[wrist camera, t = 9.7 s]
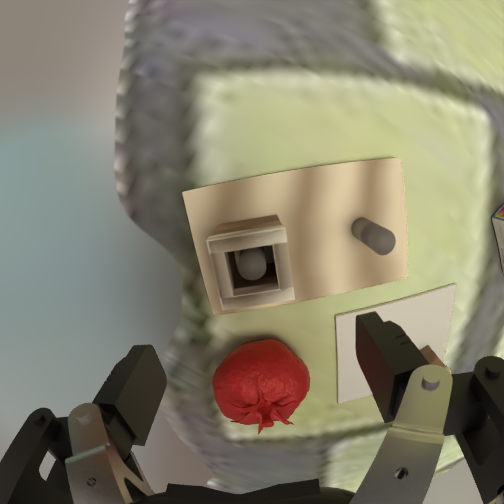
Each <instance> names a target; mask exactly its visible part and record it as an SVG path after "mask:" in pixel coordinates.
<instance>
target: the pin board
mask: <svg viewBox="0 0 504 504" xmlns="http://www.w3.org/2000/svg"><path fill="white" fill-rule="evenodd" d="M182 193H183V198H184V202H185V207H186V211H187V215H188V220H189V224H190V228H191V232H192V236H193V241H194V245H195V249H196V253H197V257H198V261H199V264H200V268H201V272H202V276H203V280H204V283H205V287H206V291H207V294H208V298H209V302H210V305H211V309H212V312H213V316H215V315H222V314H229V313H235V312H242V311H248V310H254V309H261V308H267V307H272V306H278V305H284V304H289V303H295V302H300V301H305V300H311V299H316V298H321V297H326V296H331V295H335V294H340V293H345V292H349V291H354V290H358V289H363V288H367V287H372V286H376V285H380V284H384V283H389V282H393V281H397V280H401V279H405V278H408V230H407V212H406V198H405V188H404V178H403V170H402V163H401V158H386V159H375V160H365V161H355V162H347V163H338V164H331V165H323V166H316V167H309V168H302V169H296V170H289V171H283V172H277V173H271V174H266V175H260V176H255V177H249V178H244V179H239V180H234V181H229V182H224V183H219V184H215V185H210V186H205V187H201V188H197V189H192V190H188V191H184V192H182ZM276 214H277V216H278V218H279V220H280V222H281V224H284V226H285V229H286V236H287V243H288V250H289V257H290V264H291V272H292V279H293V287H294V295H295V300H289V301H282V302H276V303H270V304H263V305H257V306H250V307H243V308H236V309H229V310H222V306H221V302H220V298H219V294H218V290H217V286H216V281H215V277H214V273H213V269H212V264H211V260H210V255H209V251H208V246H207V242H206V240H207V239H208V237H209V236H212V235H213V233H214V231H215V230H216V228H217V227H218V225H219V224H223V223H228V222H234V221H240V220H246V219H251V218H257V217H263V216H270V215H276ZM234 254H235V259H236V264H237V268H238V271H239V273H240V275H241V276H242V277H243V278H245V279H247V280H257V279H259V278H261V277H262V276H263V275H264V273H265V271H266V263H273V262H275V260H274V254H273V248H272V245H267V246H260V247H254V248H248V249H242V250H236V251H234Z"/></svg>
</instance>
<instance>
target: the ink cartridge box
mask: <svg viewBox="0 0 504 504" xmlns="http://www.w3.org/2000/svg"><path fill="white" fill-rule="evenodd" d="M492 221H493V225H494V229H495V233H496V238H497V242H498V247H499V252H500V257H501V263H502V269H503V274H504V205H503V206H502V207H501V208H500V209H499V210H498V211H497V212H496V213H495V214H494V215H493V216H492Z"/></svg>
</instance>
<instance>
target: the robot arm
mask: <svg viewBox="0 0 504 504" xmlns="http://www.w3.org/2000/svg"><path fill="white" fill-rule="evenodd" d="M355 350H356V357H357V361H358V363H359V366H360V368H361V370H362V372H363V374H364V376H365V379H366V381H367V383H368V385H369V388H370V390H371V392H372V394H373V397H374V399H375V401H376V403H377V406H378V408H379V410H380V413H381V415H382V417H383V420H384V422H385V423H388V422H391V421H394V422H393V425H392V426H390V428H389V430H388V432H387V434H386V436H385V438H384V441H383V443H382V445H381V447H380V449H379V451H378V453H377V455H376V457H375V459H374V461H373V463H372V465H371V467H370V469H369V471H368V472H367V474H366V476H365V478H364V480H363V481H362V483H361V485H360V487H359V488H358V490H357V492H356V493H354V492H351V491H348V490H344V489H339V488H332V487H320V486H319V480H318V479H313V480H307V481H300V482H293V483H285V484H278V485H275V486H271V487H268V488H264V489H260V490H257V491H253V492H249V493H245V494H232V493H228V492H223V491H219V490H214V489H210V488H207V487H203V486H191V485H179V484H169V483H168V485H167V490H166V492H163V493H157V494H155V493H154V492H153V490H152V489H151V487H150V486H149V484H148V482H147V480H146V478H145V476H144V474H143V472H142V470H141V468H140V466H139V464H138V462H137V459H136V457H135V455H134V453H133V452H132V451H131V448H132V445H139V446H145V443H146V440H147V437H148V434H149V431H150V429H151V426H152V423H153V421H154V418H155V415H156V413H157V410H158V407H159V405H160V402H161V399H162V397H163V394H164V392H165V389H166V385H167V379H166V374H165V372H164V369H163V367H162V365H161V363H160V361H159V358H158V356H157V354H156V351H155V349H154V347H153V346H152V345H134V346H133V347H132V348H131V350H130V351H129V353H128V354H127V356H126V357H124V358H123V359H122V360H121V361H120V362H118V363H117V364H116V365H115V367H114V368H113V370H112V371H111V374H110V375H109V376H108V378H107V381H105V382H104V384H103V386H102V387H101V389H100V391H99V392H98V394H97V395H96V397H95V398H94V400H93V402H92V403H84V404H81V405H79V406H77V407H76V408H74V409H73V410H72V411H71V412H70V414H69V416H68V417H60V418H56V417H55V415H54V414H53V413H52V411H51V410H50V409H48V408H40V409H37V410H35V411H34V412H33V413H31V414H30V415H29V417H28V418H27V420H26V421H25V423H24V424H23V426H22V428H21V429H20V431H19V432H18V434H17V435H16V437H15V439H14V440H13V442H12V443H11V445H10V447H9V448H8V450H7V452H6V453H5V455H4V457H3V458H2V460H1V462H0V504H422V503H423V501H424V498H425V496H426V493H427V491H428V488H429V486H430V483H431V480H432V478H433V475H434V472H435V469H436V466H437V463H438V459H439V456H440V453H441V449H442V446H443V442H444V436H448V435H453V436H454V437H455V439H456V441H457V443H458V444H459V446H460V448H461V450H462V452H463V454H464V457H465V459H466V461H467V463H468V466H469V468H470V470H471V473H472V475H473V478H474V480H475V483H476V485H477V488H478V490H479V493H480V495H481V498H482V501H483V503H484V504H504V360H503V359H502V358H499V357H496V356H487V357H484V358H482V359H480V360H479V361H478V362H477V363H476V365H475V368H474V371H473V372H467V373H461V374H451V373H450V372H449V371H448V370H447V369H445V368H444V367H442V366H439V365H430V364H429V362H428V361H427V360H426V358H425V357H424V356H423V354H422V353H421V352H420V350H419V349H418V348H417V347H416V345H415V344H414V343H413V342H412V341H411V339H410V338H409V336H408V335H406V333H405V331H404V330H403V329H402V327H401V326H400V325H398V324H396V323H394V322H392V321H390V320H389V321H385V322H384V321H383V320H382V319H381V317H380V316H379V315H378V313H377V312H376V311H373V312H369V313H364V314H360V315H357V316H356V319H355ZM47 451H49V453H50V454H51V455H52V456H53V457H54V458H55V459H56V461H55V463H54V465H53V467H52V469H51V471H50V474H49V476H48V478H47V480H46V481H45V480H44V479H43V478H42V477H41V476H40V473H39V467H40V465H41V463H42V460H43V458H44V457H45V455H46V453H47Z"/></svg>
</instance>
